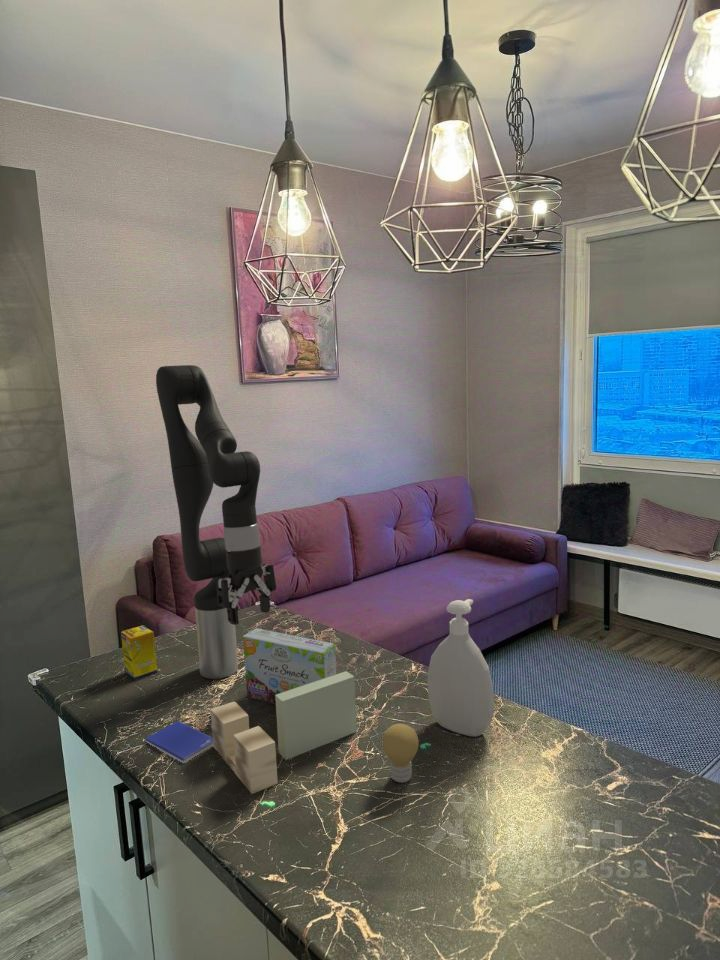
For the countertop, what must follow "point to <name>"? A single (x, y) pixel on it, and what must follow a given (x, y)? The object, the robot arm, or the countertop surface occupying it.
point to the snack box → (284, 662)
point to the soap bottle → (460, 679)
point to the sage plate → (315, 714)
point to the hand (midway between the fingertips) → (250, 617)
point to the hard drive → (180, 741)
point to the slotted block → (244, 747)
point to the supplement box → (139, 652)
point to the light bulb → (400, 750)
